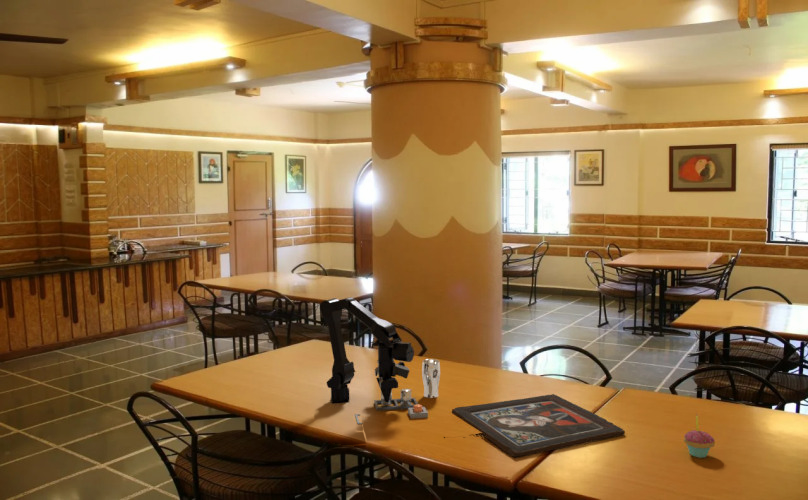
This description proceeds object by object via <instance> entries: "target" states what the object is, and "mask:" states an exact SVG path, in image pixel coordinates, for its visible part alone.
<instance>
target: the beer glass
mask: <svg viewBox="0 0 808 500" xmlns="http://www.w3.org/2000/svg"><path fill="white" fill-rule="evenodd" d="M421 376H422V378H421V379H422V382H423V388H424V389H423V396H424V398H427V399H434V398H438V397H439V396H440V395H439V384H440V379H441V365H440V360H439V359H436V358H426V359H423V360H422V366H421Z"/></svg>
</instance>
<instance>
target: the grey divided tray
mask: <svg viewBox="0 0 808 500" xmlns="http://www.w3.org/2000/svg"><path fill="white" fill-rule="evenodd" d="M398 403H400V405H399V404H398ZM411 403H413V404H411V405H401V398H392V404H394V405H383V406H380V405H382V404H381V399H375V400H373V404H374V406H375V407H374V408H375V410H376V412H377V411H378V412H379V411H382V412H383V411H395V410H396V411H397V410H408V408H414V405H417V404H419V402H418V401H417V399H416V397H411Z"/></svg>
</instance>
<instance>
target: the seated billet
mask: <svg viewBox="0 0 808 500" xmlns="http://www.w3.org/2000/svg"><path fill="white" fill-rule="evenodd" d="M411 398H412V389H410V388H402V389H400V399H401V402H400V405H412V402H411Z"/></svg>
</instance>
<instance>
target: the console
mask: <svg viewBox="0 0 808 500" xmlns="http://www.w3.org/2000/svg"><path fill="white" fill-rule="evenodd" d="M407 414H408V416H409V417H410V419H411V420H413V419H424V418H425V419H426V418H429V412H428V409H427V408H426V407H425V406H422V412H414V408H408V409H407Z"/></svg>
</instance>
